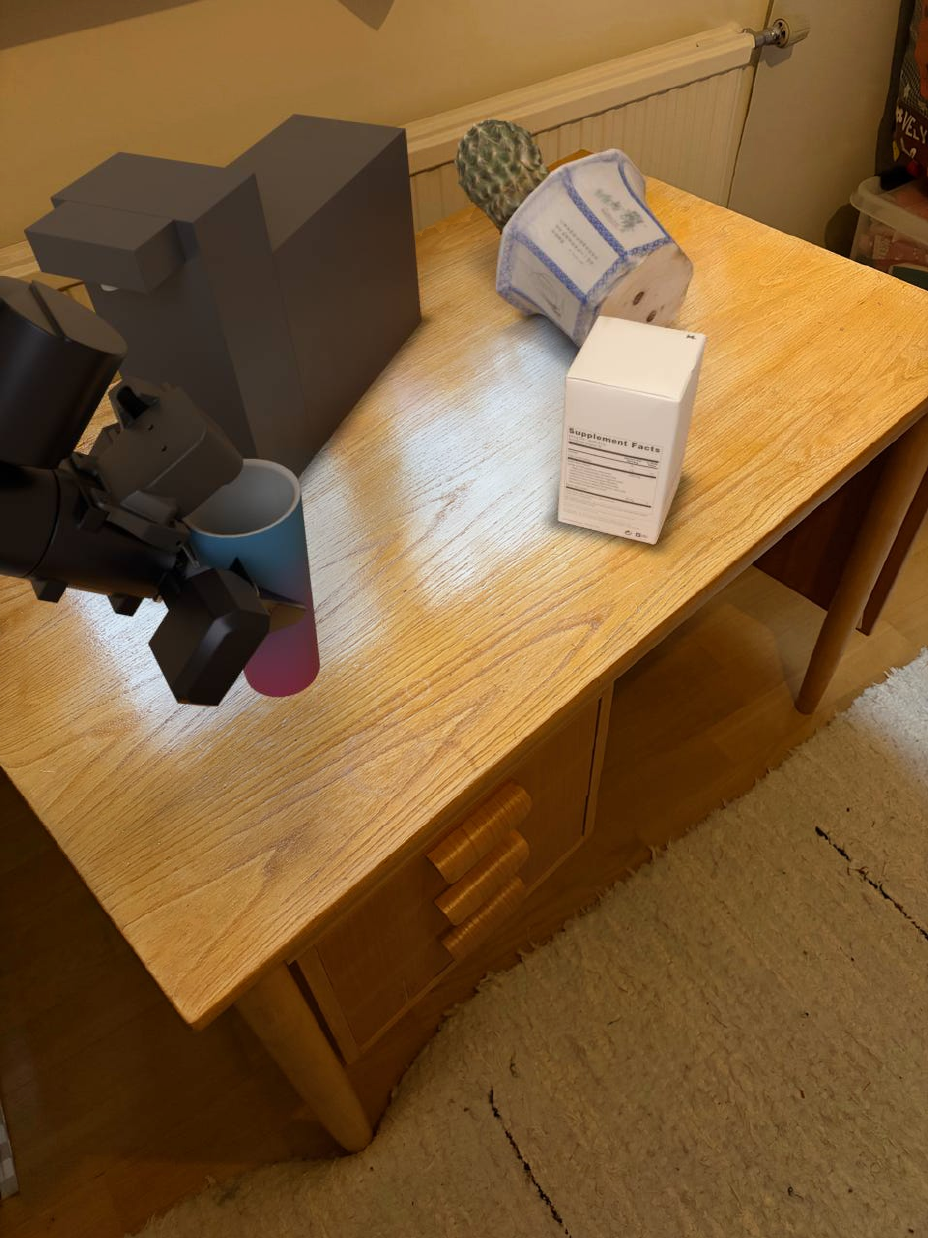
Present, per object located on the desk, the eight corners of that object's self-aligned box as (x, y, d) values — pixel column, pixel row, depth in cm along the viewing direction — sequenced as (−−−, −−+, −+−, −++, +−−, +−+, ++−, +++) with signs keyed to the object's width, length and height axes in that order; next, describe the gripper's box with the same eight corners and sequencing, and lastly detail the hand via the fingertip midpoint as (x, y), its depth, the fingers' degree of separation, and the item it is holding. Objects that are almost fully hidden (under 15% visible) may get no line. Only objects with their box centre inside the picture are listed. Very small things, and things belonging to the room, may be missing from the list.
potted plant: (743, 207, 81) (553, 35, 91) (589, 276, 76) (406, 86, 86) (689, 345, 97) (532, 185, 107) (558, 410, 91) (406, 235, 102)
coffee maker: (246, 544, 75) (153, 254, 56) (132, 511, 79) (5, 226, 59) (421, 321, 97) (399, 54, 77) (326, 302, 100) (281, 42, 80)
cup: (294, 723, 56) (250, 552, 45) (211, 685, 59) (149, 513, 47) (352, 652, 60) (324, 479, 49) (272, 618, 63) (229, 445, 52)
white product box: (585, 458, 81) (597, 310, 70) (681, 480, 79) (710, 331, 67) (553, 522, 76) (561, 374, 64) (655, 548, 73) (682, 398, 62)
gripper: (176, 494, 35) (431, 574, 47) (51, 292, 45) (286, 399, 57) (53, 699, 38) (320, 724, 50) (-37, 467, 48) (202, 534, 60)
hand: (281, 582), depth 54 cm, fingers closed on cup, 6 cm apart
